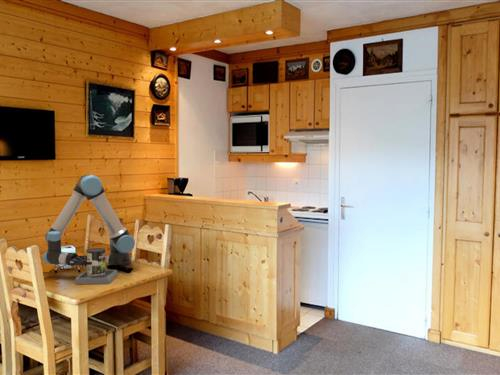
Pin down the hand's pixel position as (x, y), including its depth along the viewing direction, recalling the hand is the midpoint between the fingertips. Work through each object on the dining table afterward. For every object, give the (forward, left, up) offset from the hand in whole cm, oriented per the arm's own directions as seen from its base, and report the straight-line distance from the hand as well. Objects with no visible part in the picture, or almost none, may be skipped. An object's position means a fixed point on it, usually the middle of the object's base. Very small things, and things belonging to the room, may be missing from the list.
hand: (102, 261), depth 263 cm
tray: (-1, -4, -11) cm, 12 cm away
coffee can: (-1, -4, -8) cm, 9 cm away
